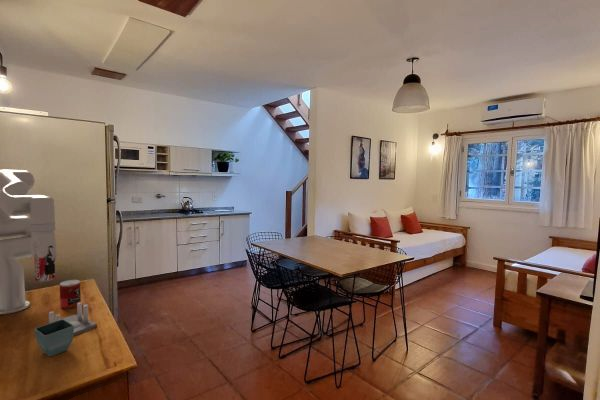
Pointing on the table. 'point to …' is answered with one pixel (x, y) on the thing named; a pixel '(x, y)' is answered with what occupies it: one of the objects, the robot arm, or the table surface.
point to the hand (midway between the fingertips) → (45, 272)
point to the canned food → (70, 294)
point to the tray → (76, 319)
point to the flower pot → (54, 337)
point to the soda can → (41, 270)
